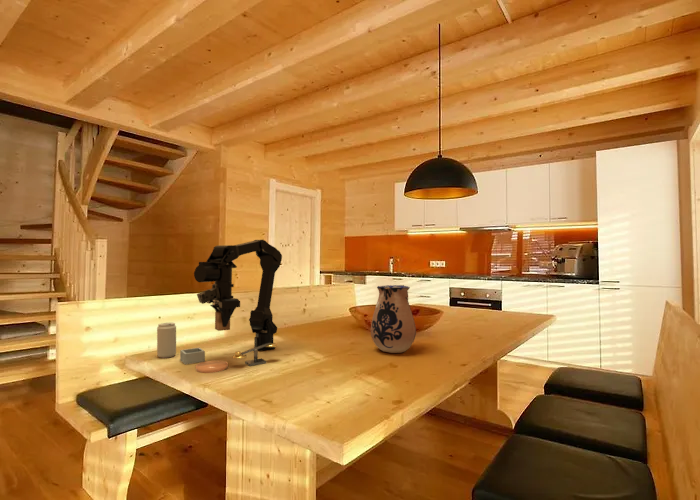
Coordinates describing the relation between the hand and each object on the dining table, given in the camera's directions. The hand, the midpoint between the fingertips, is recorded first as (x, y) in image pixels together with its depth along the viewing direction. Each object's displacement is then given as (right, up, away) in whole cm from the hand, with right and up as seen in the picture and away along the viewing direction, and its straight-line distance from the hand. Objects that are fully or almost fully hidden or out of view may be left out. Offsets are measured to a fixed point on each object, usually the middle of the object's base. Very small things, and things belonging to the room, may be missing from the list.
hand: (222, 325), depth 141 cm
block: (0, -1, 0) cm, 1 cm away
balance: (+12, -13, -2) cm, 18 cm away
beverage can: (-23, -13, +7) cm, 27 cm away
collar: (-11, -13, +1) cm, 17 cm away
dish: (-1, -13, -8) cm, 15 cm away
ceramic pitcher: (+62, -13, +17) cm, 66 cm away
